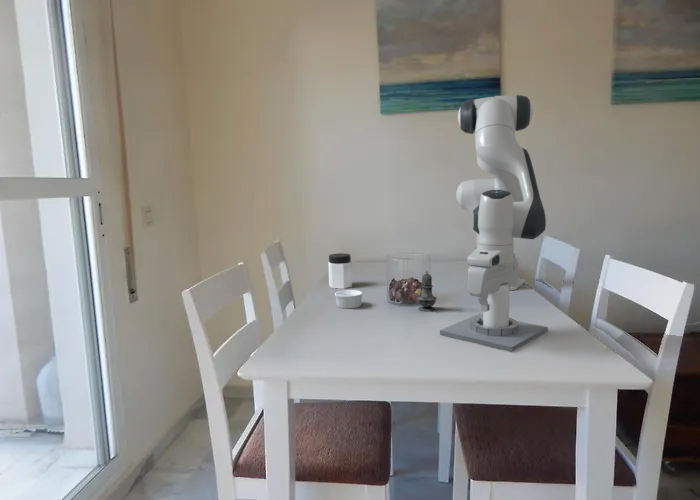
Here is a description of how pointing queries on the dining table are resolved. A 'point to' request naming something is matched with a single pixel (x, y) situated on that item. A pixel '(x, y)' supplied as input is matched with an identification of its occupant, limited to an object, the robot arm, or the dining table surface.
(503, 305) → the can
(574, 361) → the dining table surface
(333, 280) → the jar
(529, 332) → the board
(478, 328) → the collar
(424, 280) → the salt shaker
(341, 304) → the ramekin
